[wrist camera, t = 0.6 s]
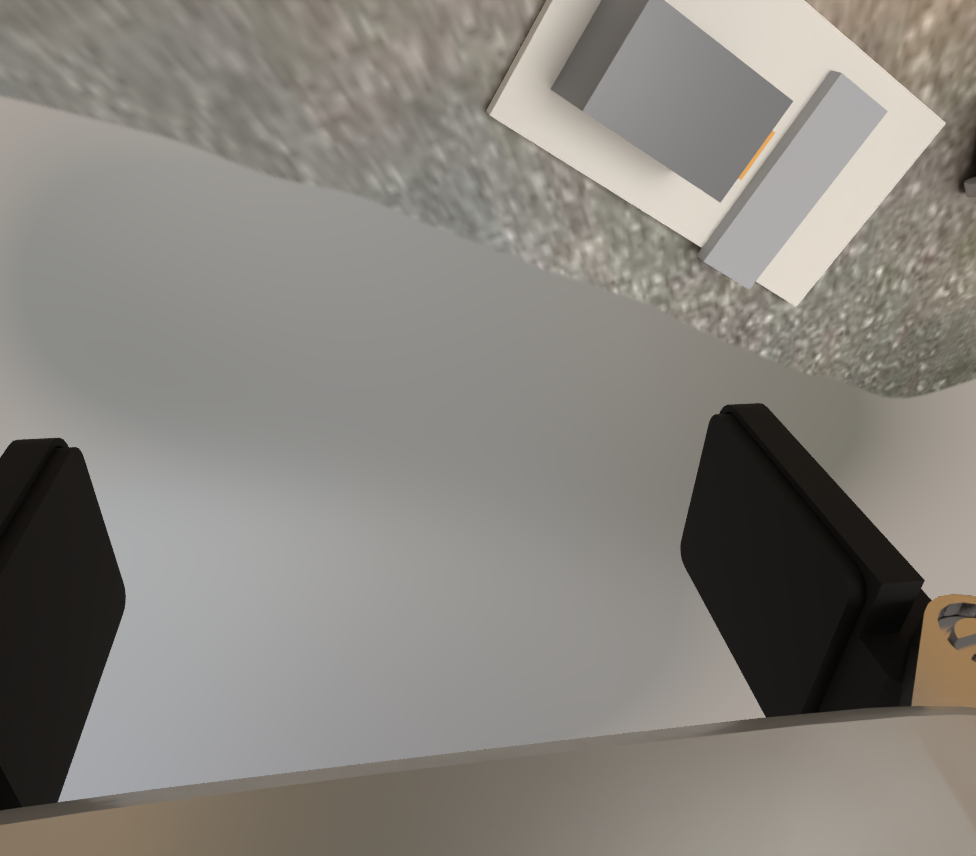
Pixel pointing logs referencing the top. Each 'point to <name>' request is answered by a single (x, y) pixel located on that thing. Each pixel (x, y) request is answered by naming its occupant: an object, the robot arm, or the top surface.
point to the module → (672, 92)
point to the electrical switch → (970, 187)
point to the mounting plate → (780, 166)
